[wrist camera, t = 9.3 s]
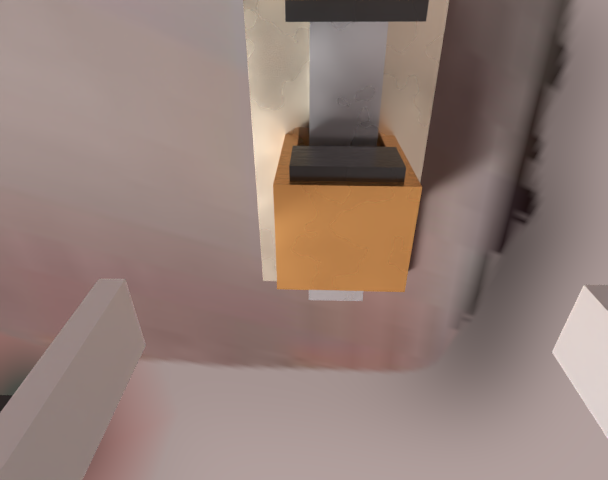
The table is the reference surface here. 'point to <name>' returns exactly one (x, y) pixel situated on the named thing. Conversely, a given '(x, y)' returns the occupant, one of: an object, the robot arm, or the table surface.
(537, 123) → the table surface
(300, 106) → the rail
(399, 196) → the orange cube
